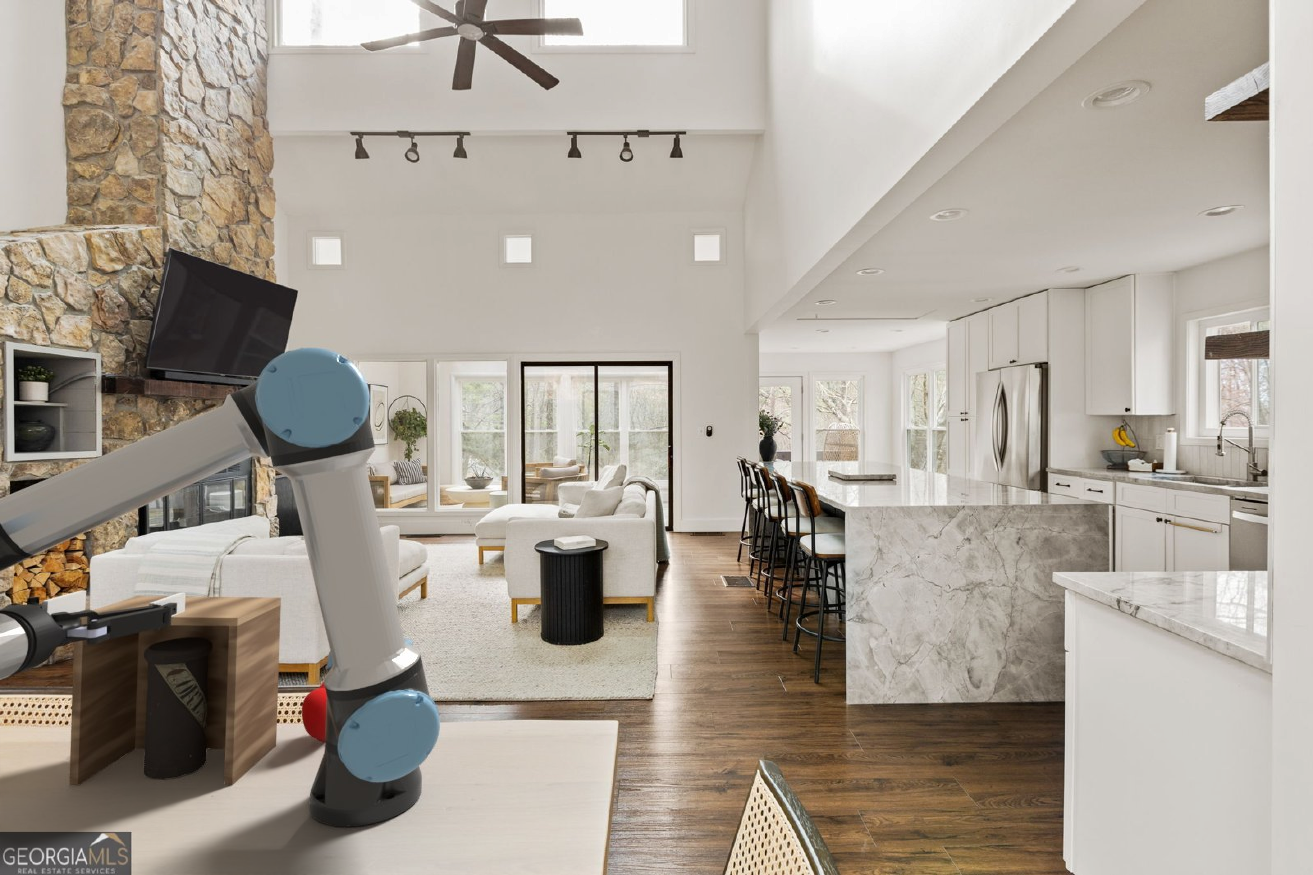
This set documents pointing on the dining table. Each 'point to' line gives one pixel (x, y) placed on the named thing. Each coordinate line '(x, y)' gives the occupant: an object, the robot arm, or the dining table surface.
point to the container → (176, 707)
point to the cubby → (235, 683)
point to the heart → (315, 713)
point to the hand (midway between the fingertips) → (133, 601)
